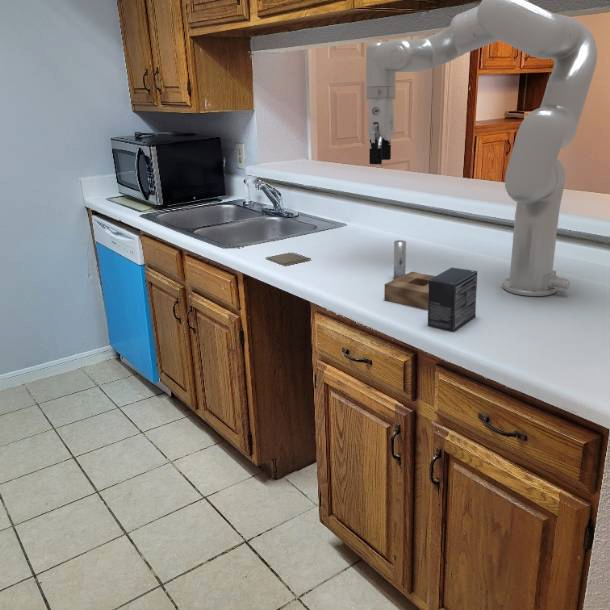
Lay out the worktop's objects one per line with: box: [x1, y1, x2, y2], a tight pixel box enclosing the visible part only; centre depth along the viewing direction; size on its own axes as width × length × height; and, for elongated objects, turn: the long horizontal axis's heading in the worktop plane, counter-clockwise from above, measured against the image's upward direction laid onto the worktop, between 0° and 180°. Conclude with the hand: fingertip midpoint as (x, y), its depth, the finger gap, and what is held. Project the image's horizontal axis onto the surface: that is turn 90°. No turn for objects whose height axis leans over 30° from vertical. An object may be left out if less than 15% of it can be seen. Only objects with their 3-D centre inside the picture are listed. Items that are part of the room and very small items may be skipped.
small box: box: [427, 267, 478, 333], centre depth 127 cm, size 11×6×10 cm, turn 141°
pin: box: [393, 239, 407, 280], centre depth 156 cm, size 3×3×10 cm
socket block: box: [383, 271, 436, 311], centre depth 142 cm, size 12×12×4 cm
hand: (380, 161), depth 161 cm, fingers open, 9 cm apart
